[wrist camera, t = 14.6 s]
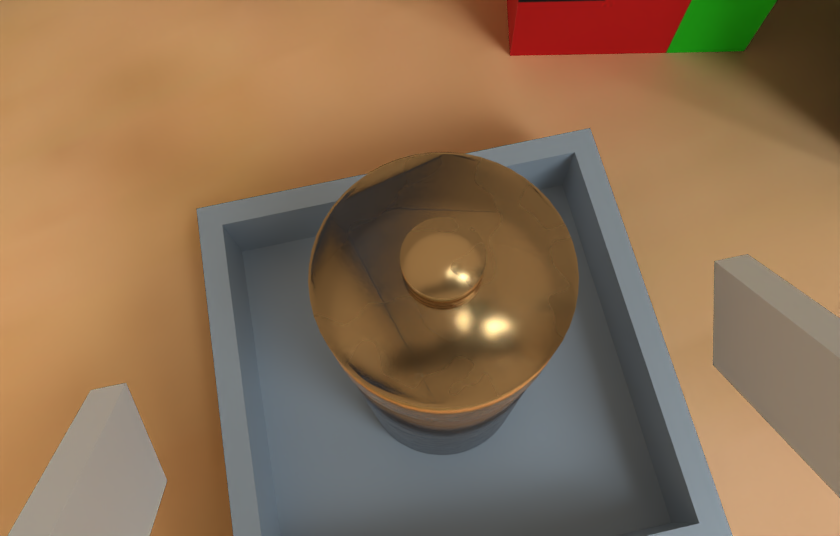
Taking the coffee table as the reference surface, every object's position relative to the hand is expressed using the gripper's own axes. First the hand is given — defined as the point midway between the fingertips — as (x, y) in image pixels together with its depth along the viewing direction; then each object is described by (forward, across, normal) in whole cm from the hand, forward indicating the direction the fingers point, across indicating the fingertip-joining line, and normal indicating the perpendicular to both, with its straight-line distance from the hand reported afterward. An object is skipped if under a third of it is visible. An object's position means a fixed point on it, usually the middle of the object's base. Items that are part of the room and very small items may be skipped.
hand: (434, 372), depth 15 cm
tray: (+8, 0, -6) cm, 10 cm away
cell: (+7, 0, -5) cm, 9 cm away
